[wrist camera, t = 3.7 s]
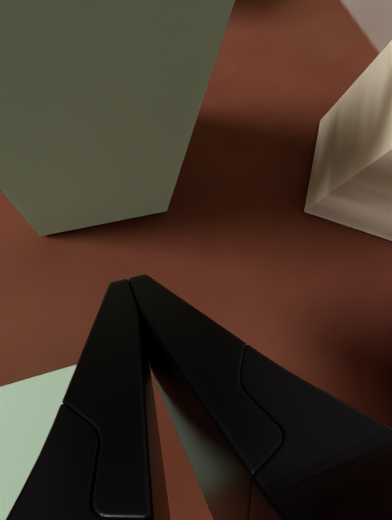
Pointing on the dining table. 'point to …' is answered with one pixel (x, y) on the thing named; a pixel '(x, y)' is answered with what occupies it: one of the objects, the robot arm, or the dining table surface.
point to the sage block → (100, 104)
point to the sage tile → (26, 428)
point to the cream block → (357, 155)
